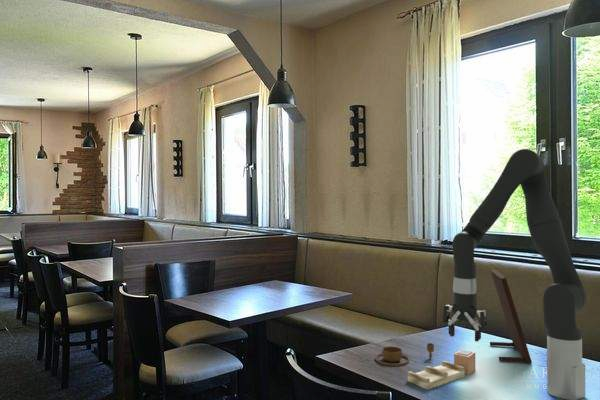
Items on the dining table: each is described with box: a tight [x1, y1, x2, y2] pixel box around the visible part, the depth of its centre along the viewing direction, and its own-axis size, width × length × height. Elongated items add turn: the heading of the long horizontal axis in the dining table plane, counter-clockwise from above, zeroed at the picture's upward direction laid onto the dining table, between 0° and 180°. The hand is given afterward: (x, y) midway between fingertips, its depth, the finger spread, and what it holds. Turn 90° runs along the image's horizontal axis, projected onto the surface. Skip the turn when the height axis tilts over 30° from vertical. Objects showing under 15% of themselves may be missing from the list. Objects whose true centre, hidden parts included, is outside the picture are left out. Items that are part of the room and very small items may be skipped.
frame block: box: [453, 349, 477, 375], centre depth 165 cm, size 5×6×6 cm
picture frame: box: [489, 268, 533, 365], centre depth 182 cm, size 21×11×30 cm, turn 168°
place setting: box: [374, 342, 435, 370], centre depth 173 cm, size 18×20×6 cm
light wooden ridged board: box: [407, 359, 465, 391], centre depth 157 cm, size 8×18×3 cm, turn 125°
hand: (464, 338), depth 165 cm, fingers open, 8 cm apart
